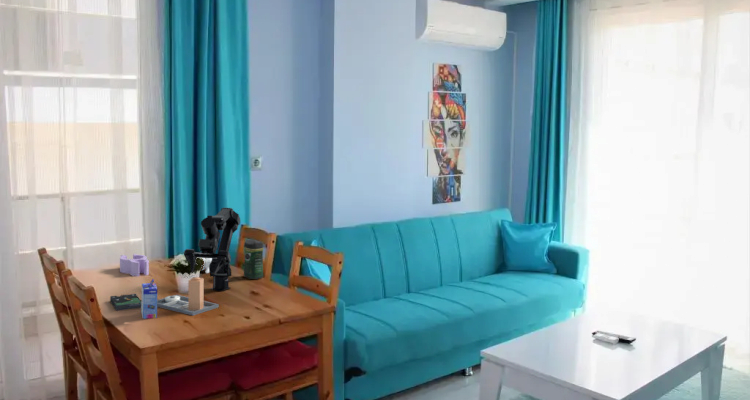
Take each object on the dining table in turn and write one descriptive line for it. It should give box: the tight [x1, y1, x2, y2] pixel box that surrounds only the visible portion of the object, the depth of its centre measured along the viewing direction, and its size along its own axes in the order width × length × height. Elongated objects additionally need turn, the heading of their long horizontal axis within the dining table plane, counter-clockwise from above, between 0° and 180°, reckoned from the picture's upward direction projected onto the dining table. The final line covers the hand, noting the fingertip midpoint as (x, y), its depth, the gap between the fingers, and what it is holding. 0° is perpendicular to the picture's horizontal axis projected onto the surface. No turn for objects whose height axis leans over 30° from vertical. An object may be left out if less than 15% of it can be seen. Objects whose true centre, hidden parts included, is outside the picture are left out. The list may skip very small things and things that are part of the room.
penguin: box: [201, 258, 212, 274], centre depth 325 cm, size 9×8×15 cm
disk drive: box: [110, 293, 141, 311], centre depth 264 cm, size 10×3×15 cm
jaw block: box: [187, 276, 205, 311], centre depth 258 cm, size 5×5×13 cm
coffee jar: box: [243, 239, 264, 280], centre depth 315 cm, size 10×8×19 cm
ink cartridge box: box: [140, 278, 158, 320], centre depth 249 cm, size 10×6×14 cm, turn 23°
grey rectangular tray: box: [157, 294, 220, 316], centre depth 262 cm, size 24×14×3 cm, turn 60°
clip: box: [119, 253, 150, 277], centre depth 319 cm, size 20×12×7 cm, turn 39°
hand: (203, 273), depth 265 cm, fingers open, 9 cm apart
